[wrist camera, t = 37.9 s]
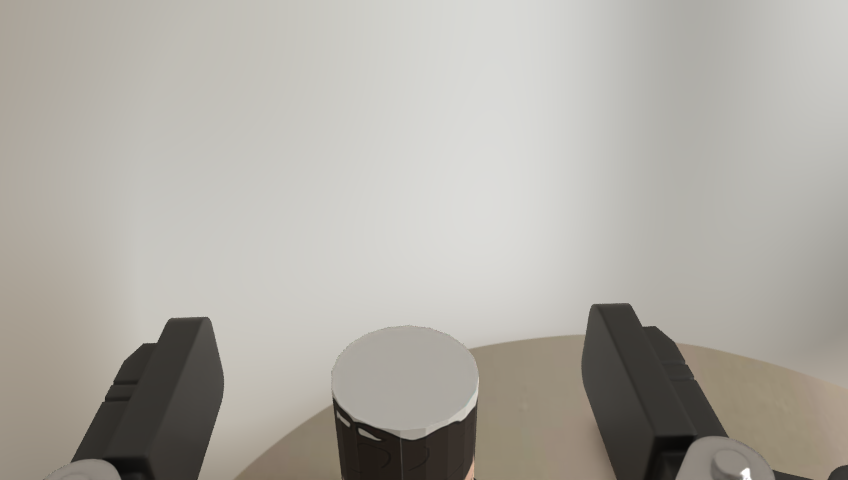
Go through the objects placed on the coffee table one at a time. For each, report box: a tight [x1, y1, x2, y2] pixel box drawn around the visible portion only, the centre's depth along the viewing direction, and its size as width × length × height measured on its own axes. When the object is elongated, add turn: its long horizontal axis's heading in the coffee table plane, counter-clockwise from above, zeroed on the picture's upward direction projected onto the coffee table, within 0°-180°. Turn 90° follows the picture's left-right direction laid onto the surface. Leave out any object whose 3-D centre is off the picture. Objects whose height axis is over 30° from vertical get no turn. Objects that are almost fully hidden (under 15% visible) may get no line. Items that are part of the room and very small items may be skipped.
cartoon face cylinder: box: [331, 326, 479, 480], centre depth 33 cm, size 7×7×15 cm
